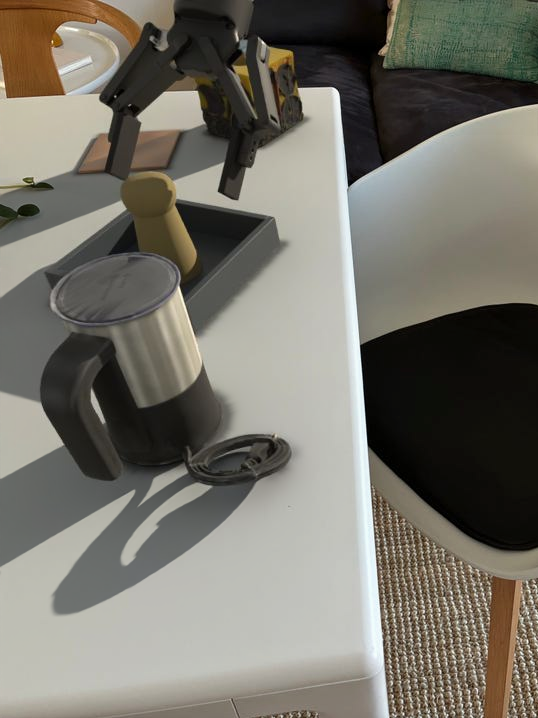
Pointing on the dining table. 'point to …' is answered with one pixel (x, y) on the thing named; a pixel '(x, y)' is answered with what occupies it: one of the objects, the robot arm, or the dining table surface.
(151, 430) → the milk frother
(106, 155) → the coaster
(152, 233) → the pepper shaker
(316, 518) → the dining table surface
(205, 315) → the tray
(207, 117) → the candle
